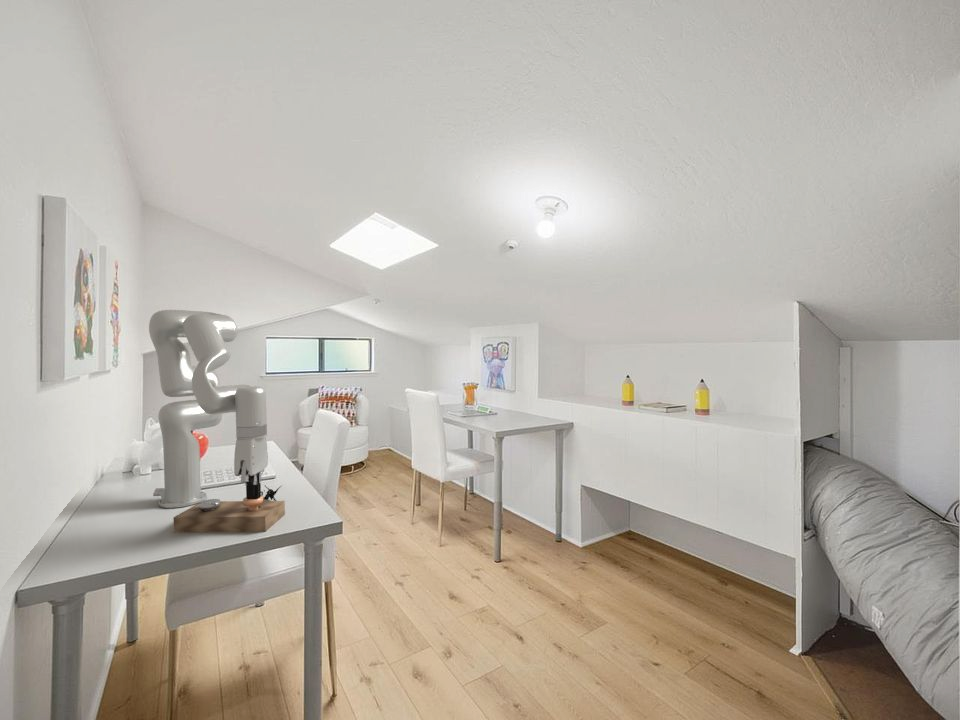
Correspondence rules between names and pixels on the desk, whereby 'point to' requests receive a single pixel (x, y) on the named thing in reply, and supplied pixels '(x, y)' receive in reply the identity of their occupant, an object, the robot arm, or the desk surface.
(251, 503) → the terracotta plug
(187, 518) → the block
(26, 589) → the desk surface
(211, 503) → the grey plug
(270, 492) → the creature
